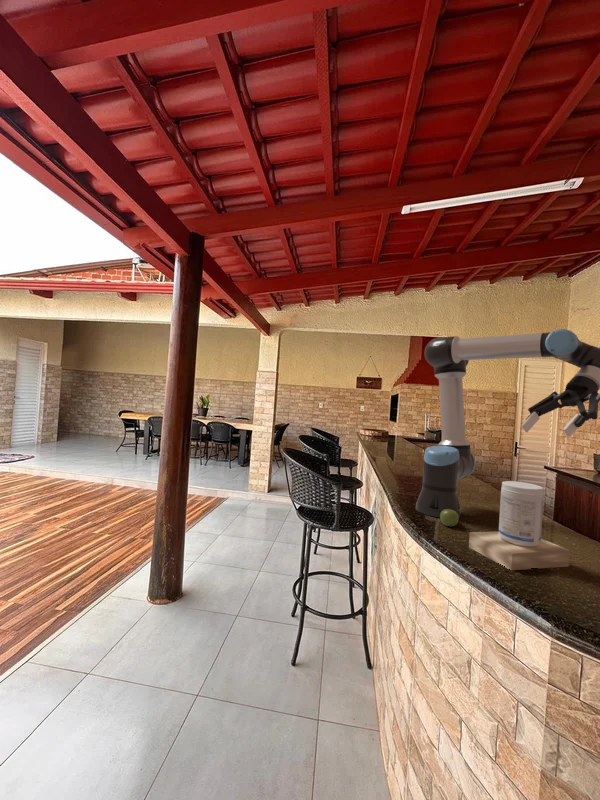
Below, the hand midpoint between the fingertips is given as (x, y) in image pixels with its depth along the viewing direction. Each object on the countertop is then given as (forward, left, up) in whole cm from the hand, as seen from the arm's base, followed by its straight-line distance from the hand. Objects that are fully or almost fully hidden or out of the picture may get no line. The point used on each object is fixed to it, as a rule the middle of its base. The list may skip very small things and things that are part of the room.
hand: (543, 430), depth 110 cm
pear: (-18, -16, -33) cm, 41 cm away
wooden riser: (+8, -16, -33) cm, 37 cm away
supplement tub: (+8, -16, -29) cm, 34 cm away
